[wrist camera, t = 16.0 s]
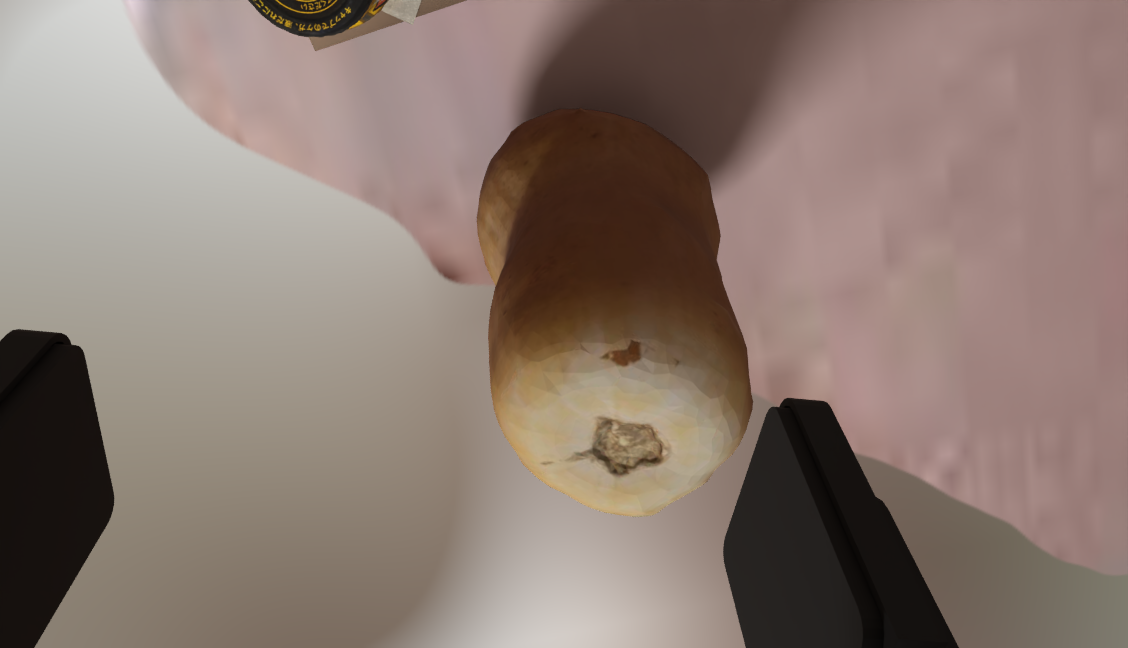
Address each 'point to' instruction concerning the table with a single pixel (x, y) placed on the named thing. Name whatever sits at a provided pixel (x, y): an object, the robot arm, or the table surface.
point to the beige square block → (378, 24)
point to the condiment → (330, 14)
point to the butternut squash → (609, 312)
